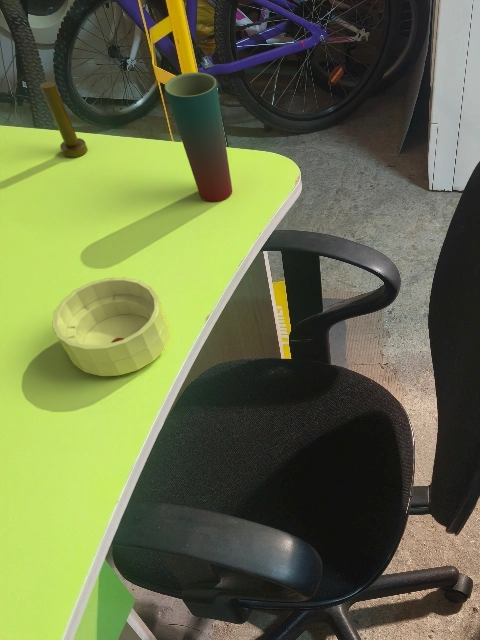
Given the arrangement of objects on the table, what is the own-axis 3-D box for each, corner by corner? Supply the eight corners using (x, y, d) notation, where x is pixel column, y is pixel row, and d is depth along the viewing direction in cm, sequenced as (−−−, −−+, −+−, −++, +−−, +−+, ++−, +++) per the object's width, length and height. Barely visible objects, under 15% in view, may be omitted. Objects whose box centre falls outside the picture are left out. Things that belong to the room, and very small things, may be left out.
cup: (185, 200, 89) (154, 91, 76) (208, 176, 92) (182, 69, 79) (224, 209, 87) (199, 100, 75) (246, 185, 91) (225, 77, 78)
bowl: (54, 375, 70) (34, 344, 65) (93, 305, 76) (77, 273, 72) (152, 384, 68) (138, 353, 64) (183, 312, 75) (172, 280, 71)
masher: (59, 157, 96) (29, 90, 88) (69, 144, 98) (40, 77, 90) (82, 158, 96) (54, 91, 87) (91, 145, 98) (65, 79, 89)
